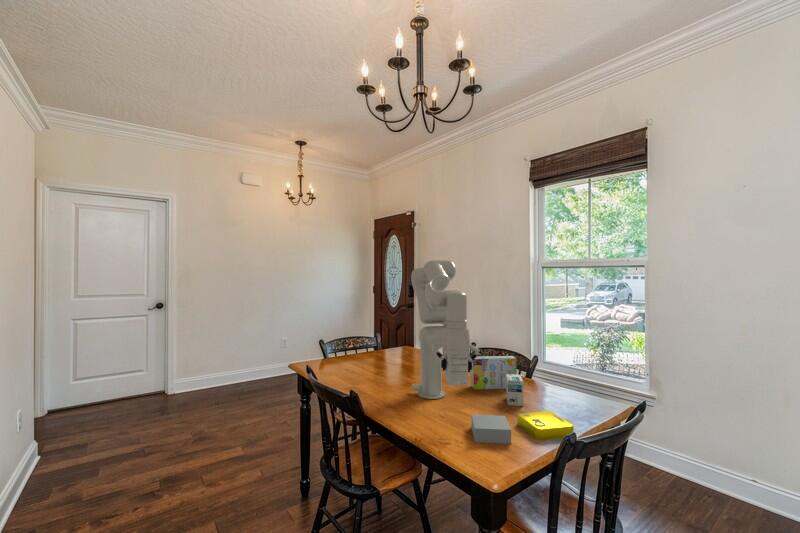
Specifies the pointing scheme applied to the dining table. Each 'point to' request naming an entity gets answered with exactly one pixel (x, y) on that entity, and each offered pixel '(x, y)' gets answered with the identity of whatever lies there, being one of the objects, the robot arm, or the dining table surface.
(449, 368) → the supplement box
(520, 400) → the light bulb box
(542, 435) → the element tile
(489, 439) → the grey block
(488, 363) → the snack box
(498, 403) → the dining table surface
